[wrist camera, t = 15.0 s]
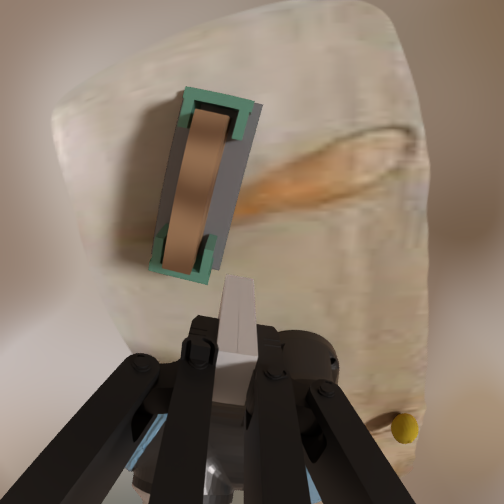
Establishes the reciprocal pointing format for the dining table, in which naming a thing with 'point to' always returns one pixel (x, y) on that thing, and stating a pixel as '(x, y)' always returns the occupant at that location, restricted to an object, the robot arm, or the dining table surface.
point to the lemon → (404, 428)
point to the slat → (195, 189)
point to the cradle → (225, 185)
